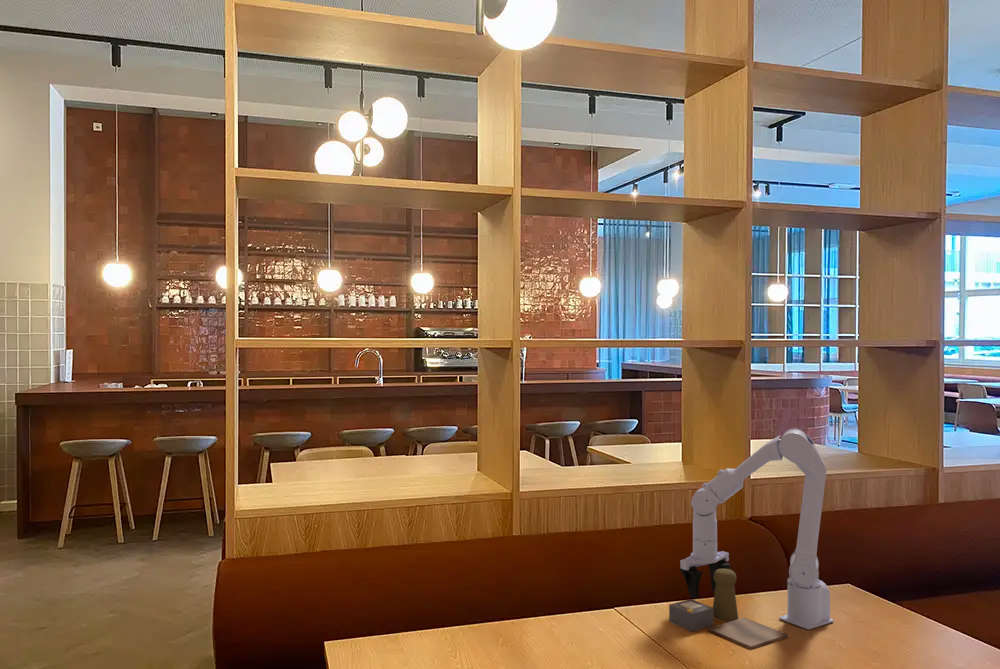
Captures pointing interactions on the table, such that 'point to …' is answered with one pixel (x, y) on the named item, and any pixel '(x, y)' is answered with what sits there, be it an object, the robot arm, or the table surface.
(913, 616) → the table surface
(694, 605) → the button
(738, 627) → the coaster
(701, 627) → the switch box
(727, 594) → the olive green pawn
